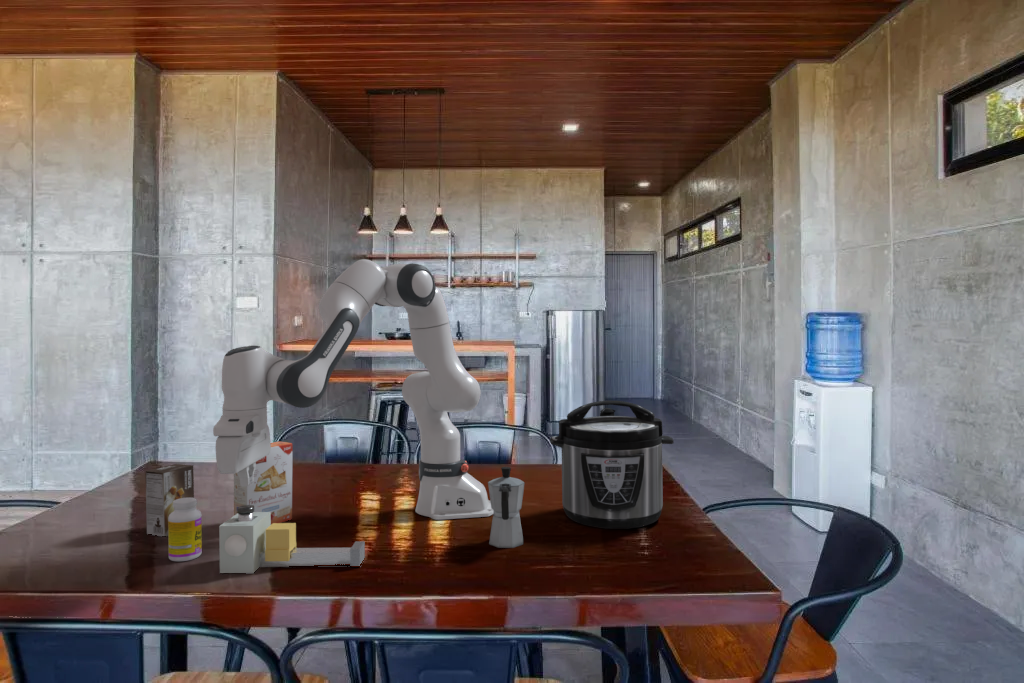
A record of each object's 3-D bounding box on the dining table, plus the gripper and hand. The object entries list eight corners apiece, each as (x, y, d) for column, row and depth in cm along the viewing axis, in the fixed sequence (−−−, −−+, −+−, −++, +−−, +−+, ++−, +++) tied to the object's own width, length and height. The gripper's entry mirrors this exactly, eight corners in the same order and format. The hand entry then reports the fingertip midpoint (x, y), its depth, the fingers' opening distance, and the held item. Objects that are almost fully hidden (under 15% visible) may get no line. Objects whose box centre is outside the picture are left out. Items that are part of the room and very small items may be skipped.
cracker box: (247, 534, 156) (246, 450, 155) (232, 530, 159) (232, 448, 158) (294, 519, 167) (293, 442, 167) (279, 516, 171) (278, 440, 170)
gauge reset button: (257, 536, 137) (256, 504, 137) (250, 541, 134) (250, 509, 133) (241, 536, 137) (241, 505, 137) (234, 542, 133) (234, 509, 133)
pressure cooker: (535, 520, 167) (535, 402, 167) (587, 497, 190) (587, 393, 189) (639, 542, 149) (639, 410, 149) (682, 514, 172) (683, 399, 172)
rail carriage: (296, 552, 138) (296, 522, 138) (288, 561, 133) (288, 529, 133) (273, 552, 138) (273, 522, 138) (265, 561, 133) (264, 530, 133)
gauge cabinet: (270, 556, 140) (270, 511, 140) (252, 574, 130) (252, 526, 130) (239, 556, 140) (239, 512, 140) (218, 574, 130) (218, 526, 129)
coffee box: (176, 524, 164) (176, 463, 164) (195, 526, 162) (194, 464, 161) (145, 534, 155) (144, 470, 155) (164, 537, 153) (163, 472, 153)
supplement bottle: (198, 560, 138) (198, 502, 137) (165, 564, 136) (164, 505, 136) (204, 550, 144) (204, 495, 144) (172, 553, 142) (171, 497, 142)
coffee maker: (489, 533, 156) (489, 461, 156) (524, 533, 156) (524, 461, 156) (485, 554, 141) (485, 475, 141) (524, 554, 141) (524, 475, 141)
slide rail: (364, 559, 138) (364, 541, 138) (359, 567, 133) (359, 549, 133) (264, 560, 138) (264, 542, 138) (255, 568, 133) (255, 550, 133)
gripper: (249, 414, 145) (251, 473, 146) (208, 429, 125) (210, 498, 125) (276, 413, 145) (278, 472, 146) (240, 428, 125) (242, 497, 125)
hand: (246, 484), depth 135 cm, fingers closed
